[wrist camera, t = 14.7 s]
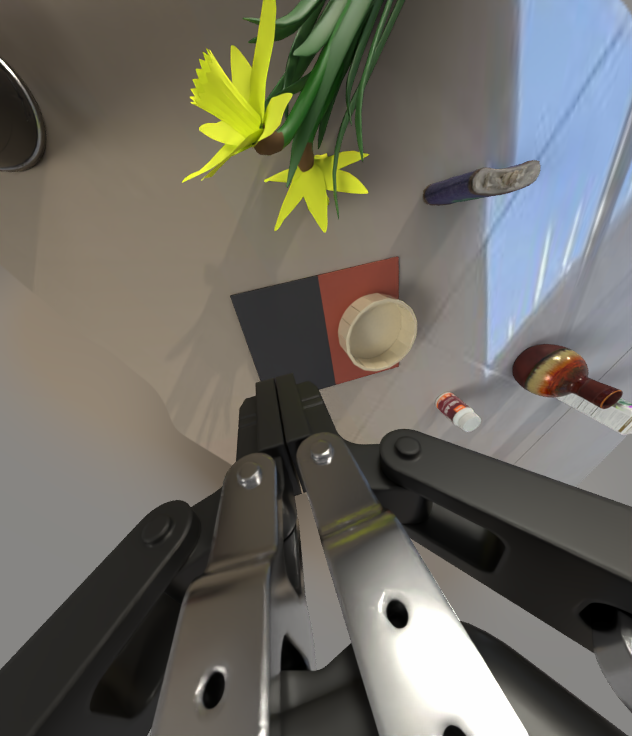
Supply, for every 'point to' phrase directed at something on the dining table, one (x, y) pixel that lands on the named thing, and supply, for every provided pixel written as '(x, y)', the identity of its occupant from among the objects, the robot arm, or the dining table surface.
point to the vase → (561, 375)
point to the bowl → (377, 331)
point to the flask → (482, 184)
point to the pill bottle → (458, 412)
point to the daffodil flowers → (314, 105)
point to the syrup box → (604, 412)
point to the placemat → (310, 322)
